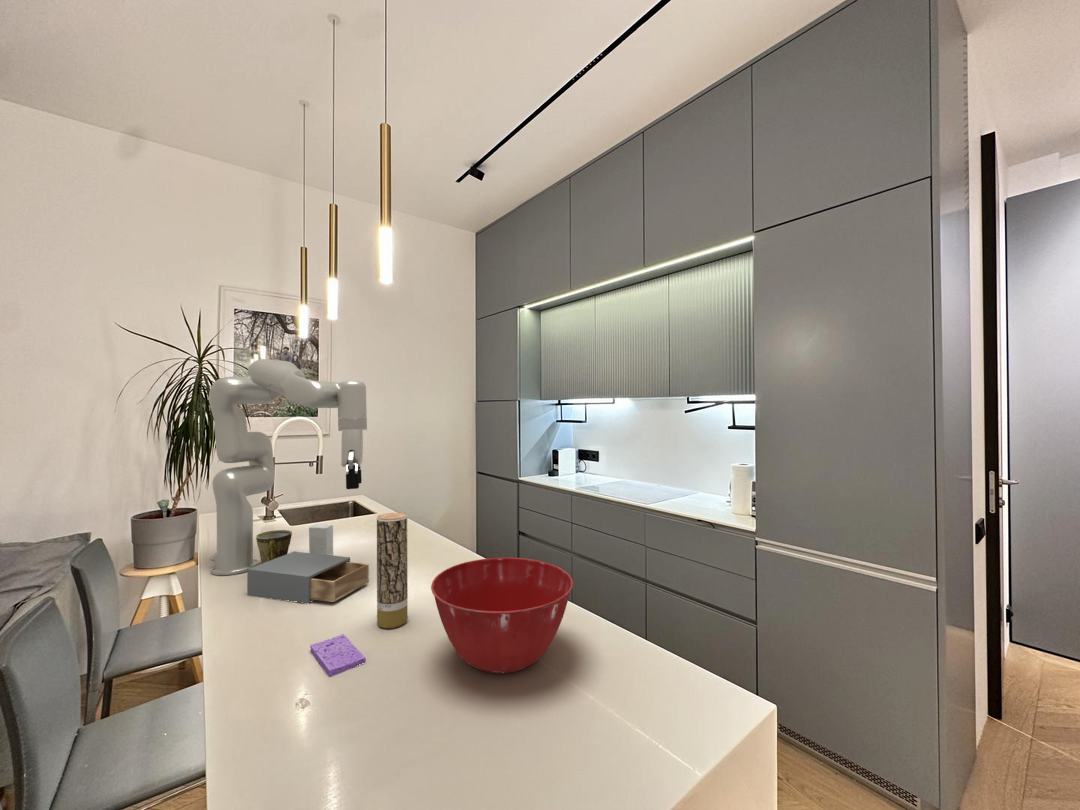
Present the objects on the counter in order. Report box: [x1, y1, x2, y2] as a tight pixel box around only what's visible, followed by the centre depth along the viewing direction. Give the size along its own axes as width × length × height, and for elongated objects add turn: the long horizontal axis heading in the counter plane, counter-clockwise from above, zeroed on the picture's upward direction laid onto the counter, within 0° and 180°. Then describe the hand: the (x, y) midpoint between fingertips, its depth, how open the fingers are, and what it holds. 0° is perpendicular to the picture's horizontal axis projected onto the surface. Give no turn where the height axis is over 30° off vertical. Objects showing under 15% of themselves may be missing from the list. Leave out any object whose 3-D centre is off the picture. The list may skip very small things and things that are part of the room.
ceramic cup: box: [255, 529, 293, 564], centre depth 148 cm, size 13×10×10 cm
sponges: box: [309, 633, 367, 677], centre depth 94 cm, size 7×13×2 cm, turn 41°
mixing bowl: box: [430, 557, 574, 675], centre depth 95 cm, size 28×28×16 cm
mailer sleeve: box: [246, 551, 351, 604], centre depth 130 cm, size 20×16×7 cm
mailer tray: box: [310, 561, 370, 603], centre depth 128 cm, size 19×14×5 cm
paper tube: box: [376, 512, 409, 629], centre depth 109 cm, size 7×7×25 cm
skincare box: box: [308, 524, 334, 556], centre depth 151 cm, size 6×4×12 cm
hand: (354, 486), depth 131 cm, fingers open, 9 cm apart
